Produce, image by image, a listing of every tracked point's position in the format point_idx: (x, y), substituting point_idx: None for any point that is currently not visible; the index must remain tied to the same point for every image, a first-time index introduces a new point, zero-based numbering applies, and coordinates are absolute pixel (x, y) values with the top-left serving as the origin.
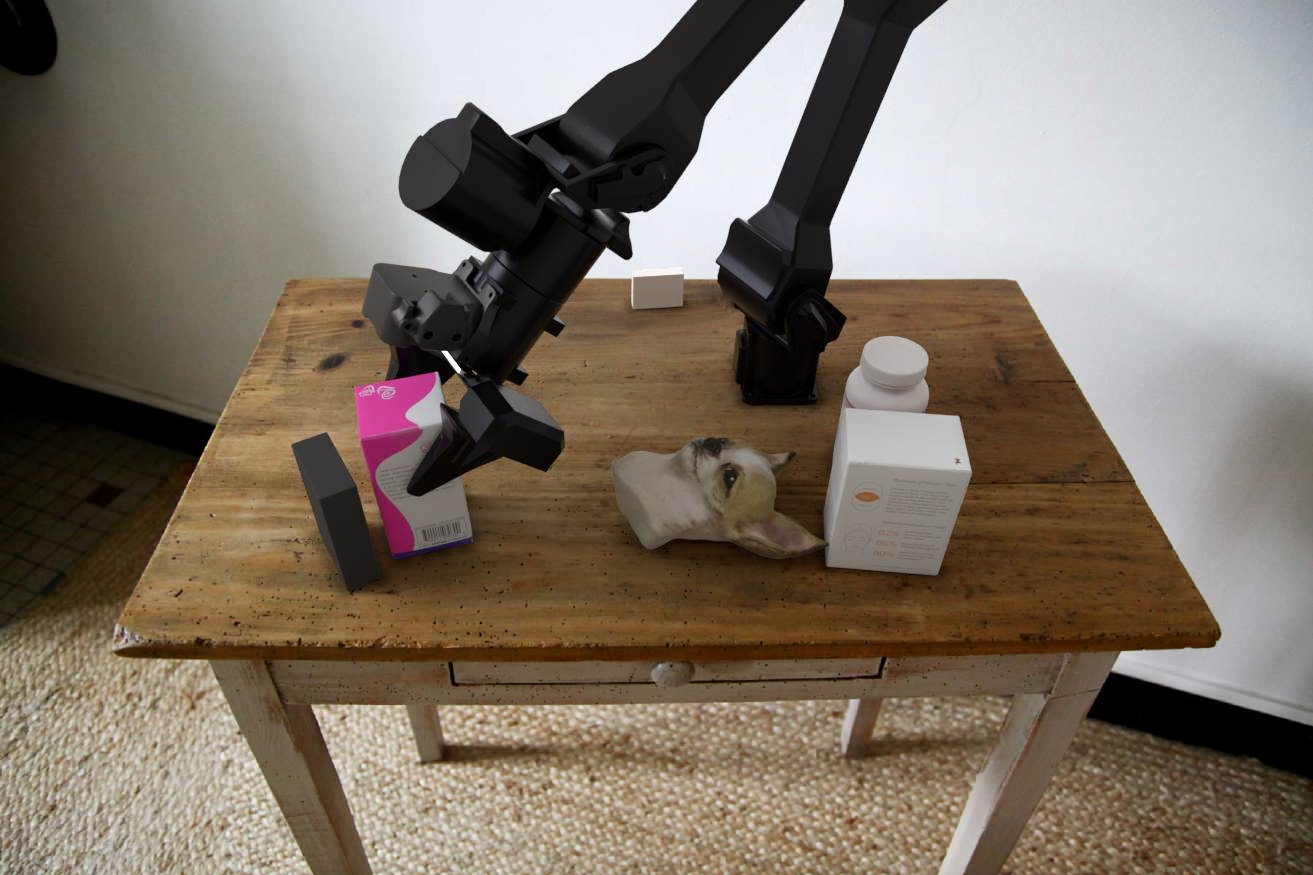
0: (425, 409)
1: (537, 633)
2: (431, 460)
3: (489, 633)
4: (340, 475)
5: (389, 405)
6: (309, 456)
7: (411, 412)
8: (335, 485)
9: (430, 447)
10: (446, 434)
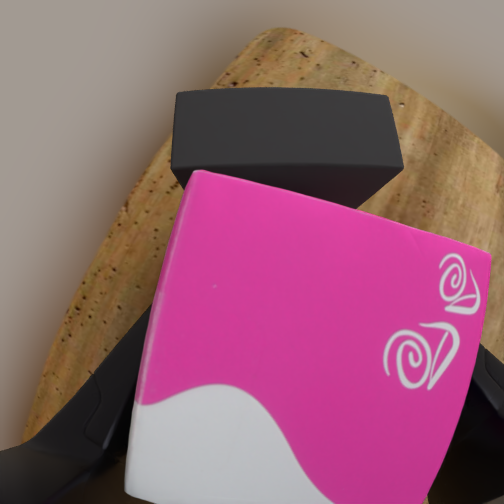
0: (233, 463)
1: (55, 360)
2: (105, 370)
3: (74, 317)
4: (226, 144)
5: (342, 345)
6: (333, 108)
7: (239, 414)
8: (200, 128)
9: (126, 391)
10: (62, 451)
